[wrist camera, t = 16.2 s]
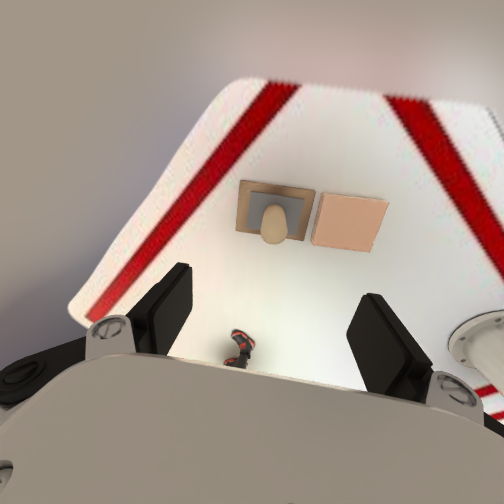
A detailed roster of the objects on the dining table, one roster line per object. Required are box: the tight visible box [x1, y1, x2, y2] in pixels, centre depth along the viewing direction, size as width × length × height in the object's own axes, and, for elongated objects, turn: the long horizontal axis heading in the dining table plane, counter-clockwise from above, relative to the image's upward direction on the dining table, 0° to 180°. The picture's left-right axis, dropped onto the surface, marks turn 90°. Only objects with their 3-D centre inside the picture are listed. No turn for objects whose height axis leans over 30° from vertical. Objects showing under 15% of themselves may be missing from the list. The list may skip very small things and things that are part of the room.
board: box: [236, 180, 316, 241], centre depth 29 cm, size 10×7×1 cm
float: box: [247, 191, 304, 244], centre depth 25 cm, size 7×5×8 cm
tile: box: [311, 193, 389, 252], centre depth 28 cm, size 2×7×8 cm
